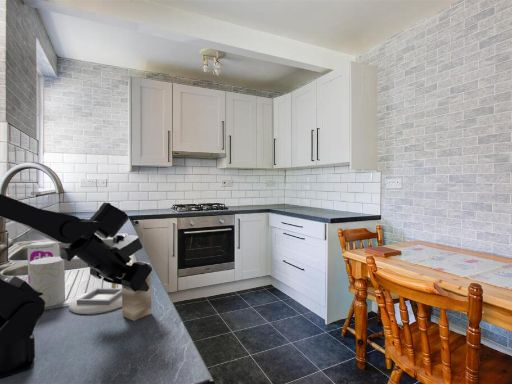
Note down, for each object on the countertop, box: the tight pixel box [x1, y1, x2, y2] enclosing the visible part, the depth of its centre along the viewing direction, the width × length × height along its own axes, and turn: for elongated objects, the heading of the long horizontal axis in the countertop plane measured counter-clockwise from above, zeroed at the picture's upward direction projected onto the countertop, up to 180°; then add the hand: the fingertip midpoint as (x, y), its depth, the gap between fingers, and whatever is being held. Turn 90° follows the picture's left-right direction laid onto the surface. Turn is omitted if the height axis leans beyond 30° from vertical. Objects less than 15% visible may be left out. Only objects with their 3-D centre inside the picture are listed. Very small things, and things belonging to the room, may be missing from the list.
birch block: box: [121, 260, 152, 322], centre depth 75 cm, size 5×5×13 cm
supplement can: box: [27, 240, 61, 285], centre depth 93 cm, size 8×8×15 cm
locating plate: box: [68, 283, 122, 315], centre depth 83 cm, size 16×16×4 cm
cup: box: [29, 256, 66, 308], centre depth 83 cm, size 8×8×12 cm
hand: (141, 287), depth 76 cm, fingers closed on birch block, 5 cm apart
